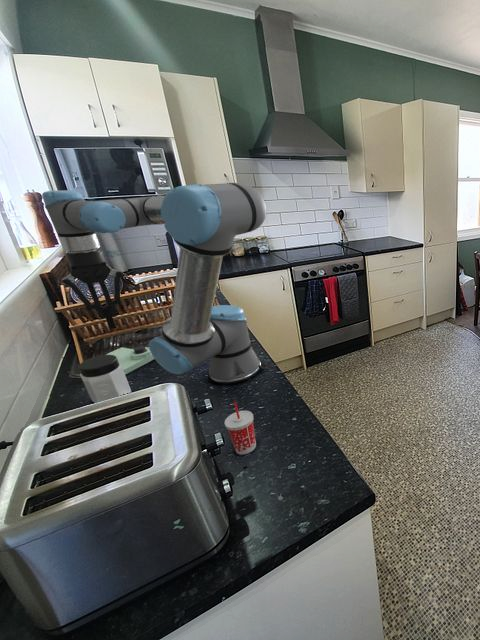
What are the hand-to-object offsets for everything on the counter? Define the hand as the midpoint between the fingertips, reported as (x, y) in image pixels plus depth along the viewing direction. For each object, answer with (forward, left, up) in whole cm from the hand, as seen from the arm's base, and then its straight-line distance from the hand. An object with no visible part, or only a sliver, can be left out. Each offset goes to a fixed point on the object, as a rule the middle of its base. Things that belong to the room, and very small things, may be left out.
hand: (112, 327), depth 105 cm
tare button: (+5, -8, -14) cm, 17 cm away
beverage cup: (-57, +17, -18) cm, 62 cm away
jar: (-6, +10, -18) cm, 21 cm away
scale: (+9, -5, -17) cm, 20 cm away
